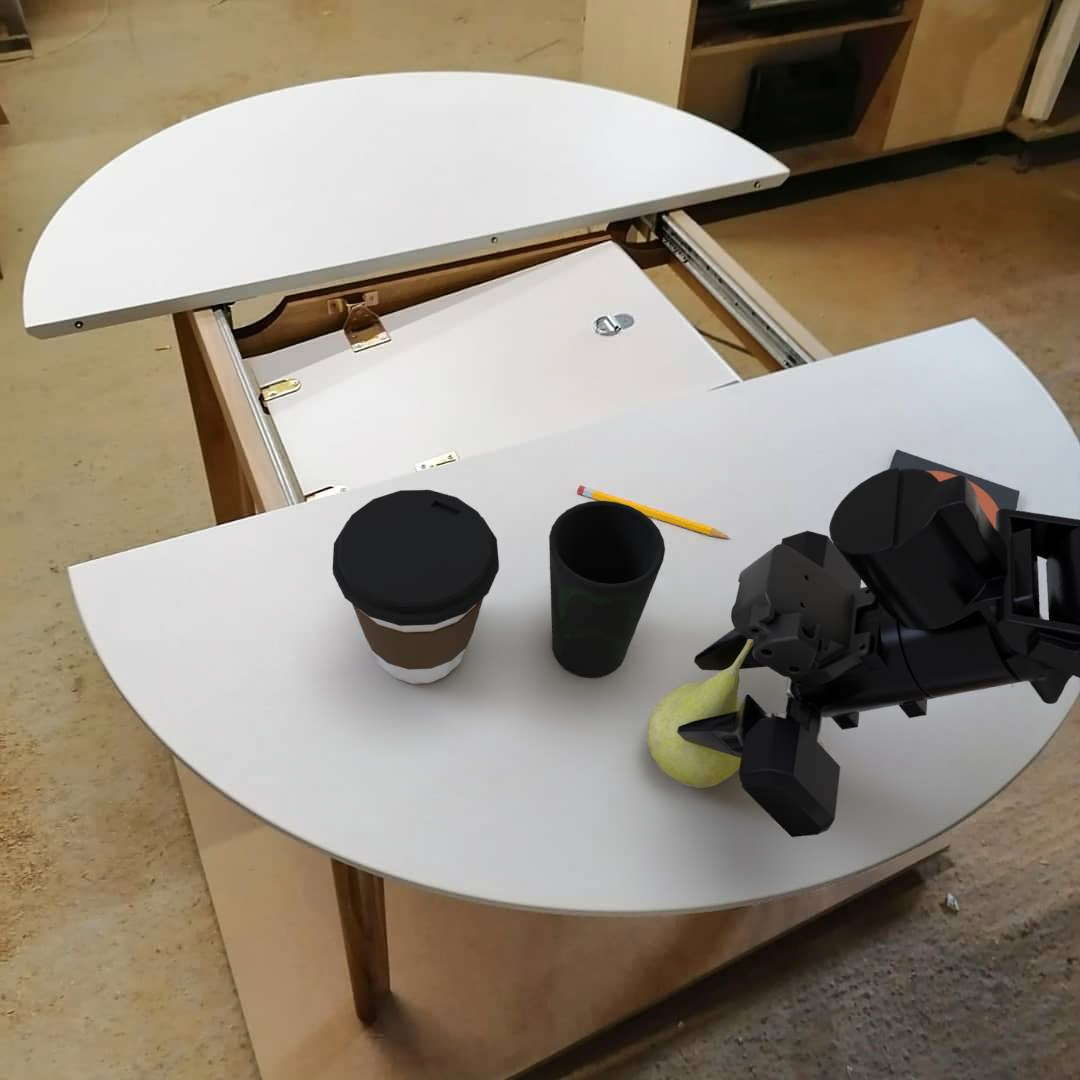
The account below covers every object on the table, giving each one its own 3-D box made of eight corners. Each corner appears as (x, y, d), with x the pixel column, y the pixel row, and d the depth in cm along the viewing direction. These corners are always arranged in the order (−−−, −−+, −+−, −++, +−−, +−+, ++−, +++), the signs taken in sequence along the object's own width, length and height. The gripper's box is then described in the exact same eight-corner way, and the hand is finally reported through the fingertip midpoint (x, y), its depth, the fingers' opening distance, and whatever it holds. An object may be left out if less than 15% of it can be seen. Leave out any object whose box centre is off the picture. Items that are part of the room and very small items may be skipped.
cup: (641, 612, 78) (666, 506, 69) (638, 696, 73) (664, 594, 64) (542, 600, 78) (554, 493, 69) (532, 683, 73) (543, 580, 64)
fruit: (623, 766, 69) (647, 674, 60) (679, 691, 73) (710, 593, 64) (707, 823, 67) (746, 735, 57) (760, 741, 71) (804, 648, 61)
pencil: (579, 489, 86) (580, 483, 86) (731, 537, 84) (733, 532, 83) (576, 495, 86) (577, 489, 85) (729, 544, 83) (730, 538, 83)
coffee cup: (399, 570, 79) (392, 461, 70) (521, 629, 76) (530, 523, 67) (314, 670, 72) (294, 564, 63) (443, 739, 69) (442, 638, 60)
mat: (1017, 495, 89) (1020, 490, 88) (1000, 581, 82) (1003, 576, 82) (894, 453, 91) (896, 448, 91) (867, 534, 85) (870, 528, 84)
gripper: (863, 435, 58) (648, 515, 68) (830, 700, 46) (574, 750, 56) (951, 559, 63) (738, 617, 72) (942, 828, 51) (688, 853, 60)
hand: (689, 697), depth 65 cm, fingers closed on fruit, 5 cm apart
